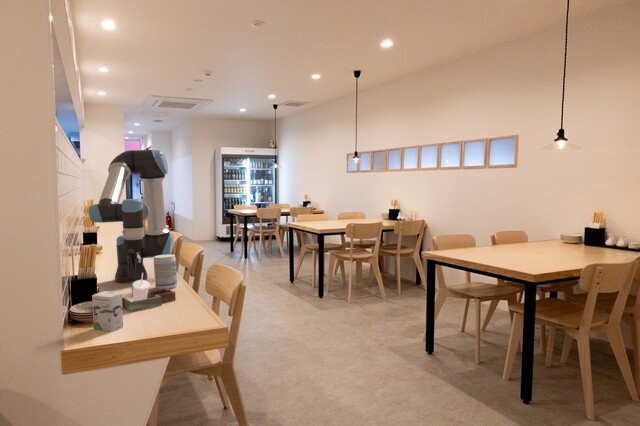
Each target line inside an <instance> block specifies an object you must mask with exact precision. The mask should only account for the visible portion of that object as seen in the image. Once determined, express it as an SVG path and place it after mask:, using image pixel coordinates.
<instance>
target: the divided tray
mask: <svg viewBox="0 0 640 426" xmlns="http://www.w3.org/2000/svg"><path fill="white" fill-rule="evenodd" d="M176 299H177V298H176V291H174V290H172V289H171V288H170V289H168V288H165V289H154V290H148V294H147V299H143V300H138V301H133V300H132V301H131V300H128V299H127V298H126V297H123V296H122V309H124V310H126V311H127V312H129V313H132V312H133V313H134V312H138V311H143V310H147V309H151V308H156V307H157V308H158V307H161V306H162V304H164V303H165V304H166V303H169V302H174V301H177V300H176Z"/></svg>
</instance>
